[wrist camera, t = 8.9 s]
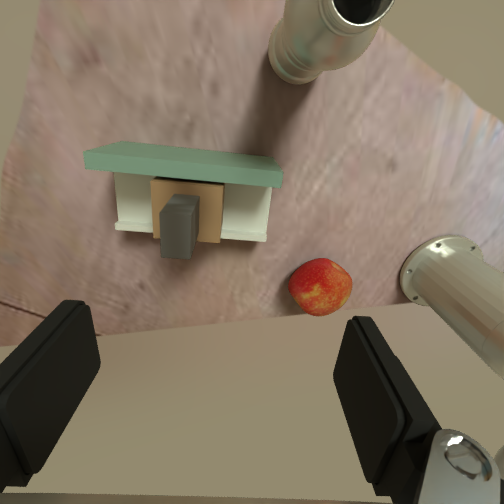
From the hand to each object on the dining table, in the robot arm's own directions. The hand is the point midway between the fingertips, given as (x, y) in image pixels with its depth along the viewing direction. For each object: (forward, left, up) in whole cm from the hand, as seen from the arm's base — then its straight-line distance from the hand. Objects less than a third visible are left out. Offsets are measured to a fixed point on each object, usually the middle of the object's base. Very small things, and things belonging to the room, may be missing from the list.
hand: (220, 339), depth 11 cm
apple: (-14, +14, -31) cm, 37 cm away
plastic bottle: (-6, -14, -31) cm, 34 cm away
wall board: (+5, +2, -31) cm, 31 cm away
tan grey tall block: (+4, +2, -27) cm, 28 cm away
